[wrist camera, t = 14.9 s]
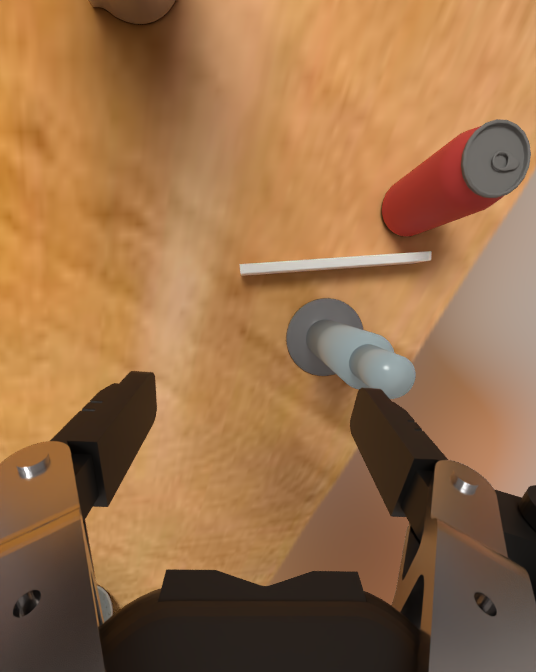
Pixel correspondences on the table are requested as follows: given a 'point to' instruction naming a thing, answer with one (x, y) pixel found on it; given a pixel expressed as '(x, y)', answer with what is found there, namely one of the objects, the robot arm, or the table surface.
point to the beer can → (459, 179)
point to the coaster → (302, 323)
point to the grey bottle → (361, 358)
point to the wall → (334, 263)
